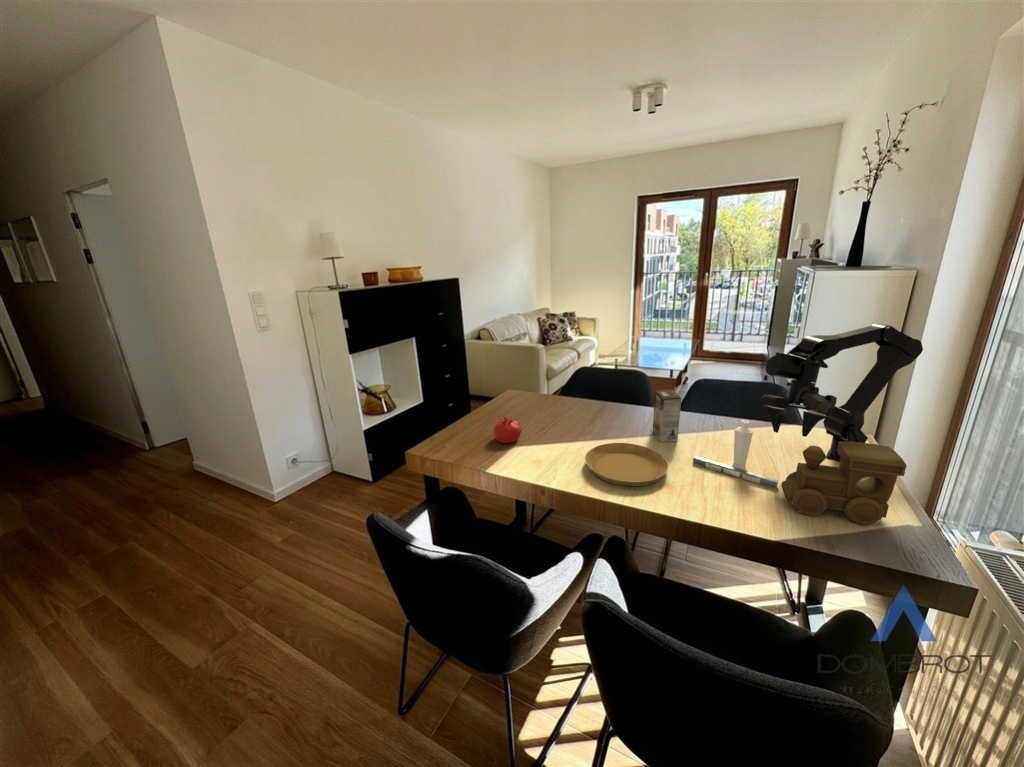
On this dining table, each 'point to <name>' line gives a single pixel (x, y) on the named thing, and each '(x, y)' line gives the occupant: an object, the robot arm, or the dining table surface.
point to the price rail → (736, 472)
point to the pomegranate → (507, 430)
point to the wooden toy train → (846, 481)
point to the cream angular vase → (742, 445)
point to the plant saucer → (626, 464)
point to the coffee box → (666, 415)
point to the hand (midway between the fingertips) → (790, 434)
